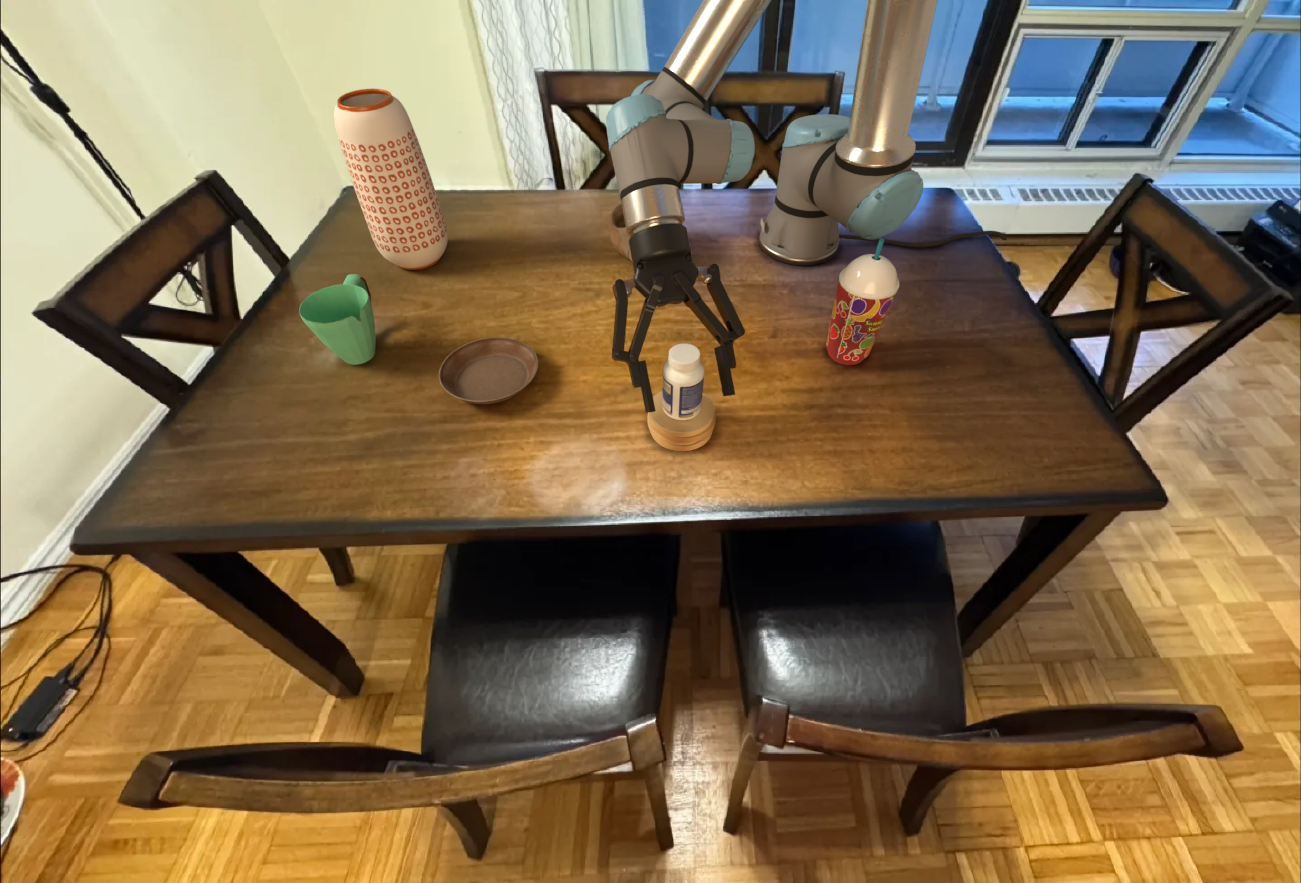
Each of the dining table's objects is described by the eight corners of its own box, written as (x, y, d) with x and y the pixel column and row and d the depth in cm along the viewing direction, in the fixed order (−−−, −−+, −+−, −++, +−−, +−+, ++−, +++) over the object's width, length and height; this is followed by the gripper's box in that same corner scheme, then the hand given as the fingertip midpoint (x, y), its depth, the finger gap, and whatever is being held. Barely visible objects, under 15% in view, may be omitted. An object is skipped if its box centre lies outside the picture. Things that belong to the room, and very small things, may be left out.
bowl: (701, 270, 107) (689, 222, 100) (629, 297, 109) (612, 252, 101) (678, 221, 119) (665, 175, 111) (613, 246, 120) (596, 202, 112)
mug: (382, 374, 91) (357, 322, 84) (318, 376, 91) (288, 324, 84) (404, 316, 101) (384, 265, 93) (346, 318, 101) (322, 267, 93)
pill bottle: (705, 399, 82) (711, 344, 74) (695, 425, 78) (699, 371, 71) (669, 390, 83) (670, 335, 76) (656, 416, 80) (657, 361, 72)
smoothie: (862, 378, 90) (903, 263, 75) (811, 359, 93) (841, 245, 78) (879, 348, 95) (921, 234, 80) (830, 331, 98) (862, 218, 83)
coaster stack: (709, 402, 87) (711, 382, 84) (718, 451, 81) (721, 431, 78) (645, 405, 87) (645, 386, 84) (649, 455, 80) (649, 435, 77)
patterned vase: (450, 235, 119) (405, 78, 98) (457, 269, 110) (410, 107, 89) (381, 246, 116) (320, 88, 95) (383, 282, 108) (317, 118, 87)
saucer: (461, 346, 96) (456, 332, 94) (549, 352, 95) (547, 338, 93) (429, 410, 86) (423, 397, 84) (527, 417, 85) (524, 404, 83)
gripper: (730, 227, 80) (760, 387, 82) (566, 252, 76) (602, 420, 78) (750, 208, 72) (782, 385, 74) (570, 235, 68) (609, 421, 70)
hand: (690, 403), depth 76 cm, fingers open, 10 cm apart
